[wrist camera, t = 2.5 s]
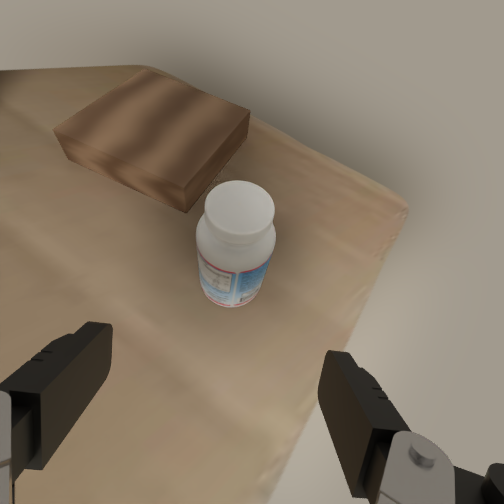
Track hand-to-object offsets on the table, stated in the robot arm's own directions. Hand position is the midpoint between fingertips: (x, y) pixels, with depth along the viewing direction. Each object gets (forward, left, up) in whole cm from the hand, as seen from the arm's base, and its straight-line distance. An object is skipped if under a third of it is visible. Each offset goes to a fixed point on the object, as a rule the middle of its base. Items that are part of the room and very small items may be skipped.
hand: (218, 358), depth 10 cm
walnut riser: (-19, +23, -14) cm, 33 cm away
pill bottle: (-3, +10, -14) cm, 18 cm away
